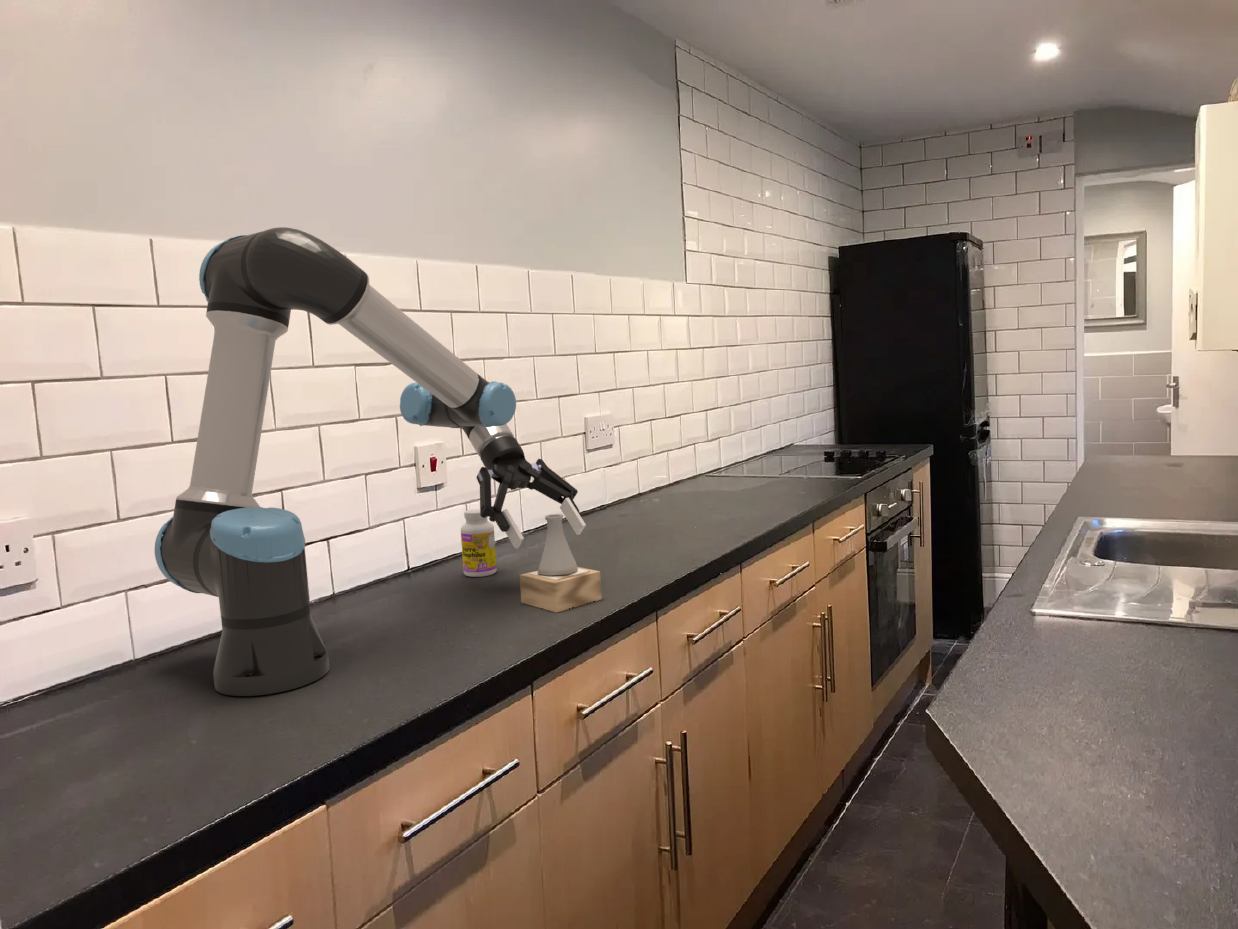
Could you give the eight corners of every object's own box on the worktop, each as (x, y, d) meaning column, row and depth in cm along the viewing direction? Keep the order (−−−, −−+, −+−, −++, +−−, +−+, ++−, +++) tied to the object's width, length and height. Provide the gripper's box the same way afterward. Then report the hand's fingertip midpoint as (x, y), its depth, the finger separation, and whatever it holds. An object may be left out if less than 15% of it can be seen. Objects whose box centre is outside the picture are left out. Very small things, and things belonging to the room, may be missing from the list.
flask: (570, 577, 154) (566, 519, 153) (530, 576, 156) (526, 519, 155) (584, 567, 161) (580, 511, 160) (546, 566, 163) (542, 511, 162)
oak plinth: (556, 612, 152) (554, 582, 152) (521, 602, 160) (519, 573, 159) (601, 599, 159) (600, 570, 158) (565, 590, 166) (564, 562, 166)
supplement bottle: (458, 577, 181) (452, 513, 180) (472, 569, 188) (468, 508, 186) (488, 578, 179) (483, 513, 178) (502, 570, 186) (498, 507, 184)
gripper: (543, 453, 180) (596, 537, 170) (431, 469, 163) (483, 563, 154) (558, 427, 175) (614, 512, 166) (444, 441, 159) (499, 535, 149)
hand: (551, 536), depth 160 cm, fingers open, 13 cm apart
